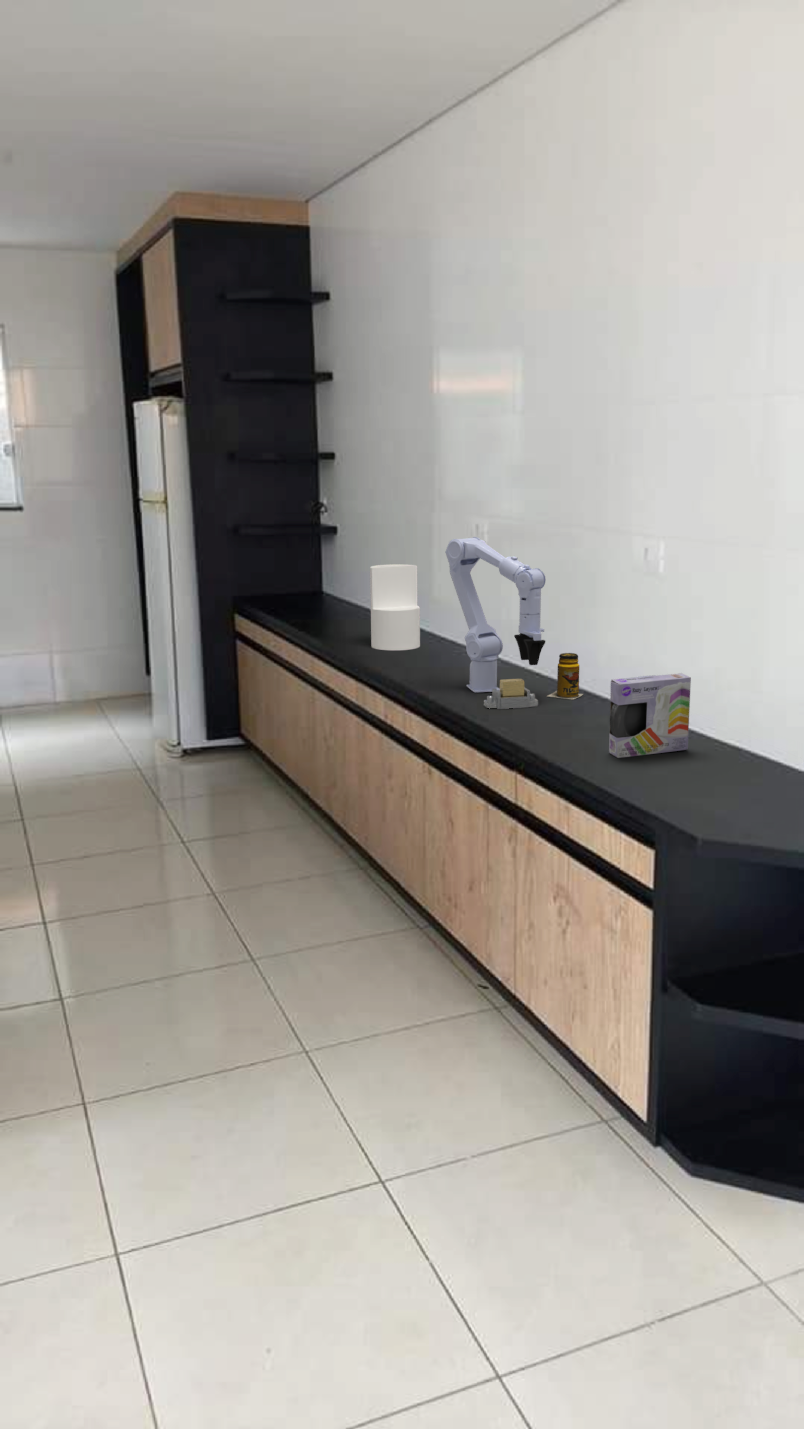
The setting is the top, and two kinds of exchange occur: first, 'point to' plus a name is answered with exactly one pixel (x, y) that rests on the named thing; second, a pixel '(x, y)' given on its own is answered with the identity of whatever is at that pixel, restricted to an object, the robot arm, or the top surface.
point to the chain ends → (510, 700)
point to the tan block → (512, 688)
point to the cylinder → (394, 607)
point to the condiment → (567, 677)
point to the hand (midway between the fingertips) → (529, 662)
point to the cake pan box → (649, 714)
